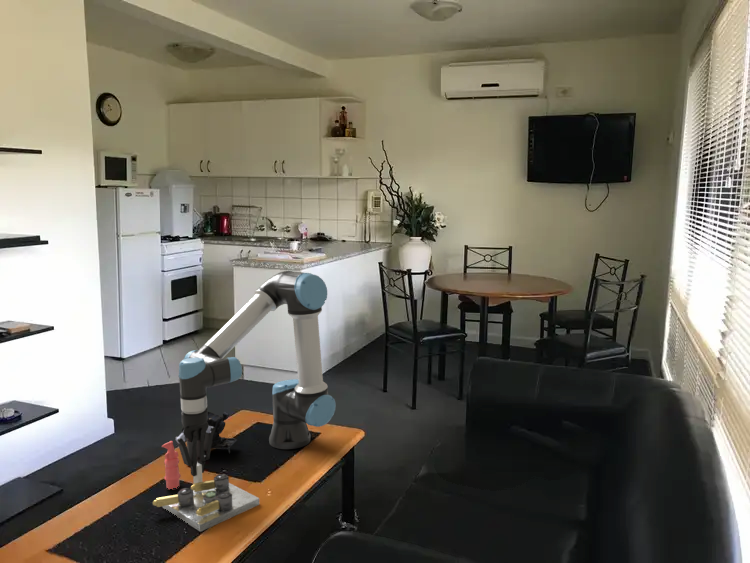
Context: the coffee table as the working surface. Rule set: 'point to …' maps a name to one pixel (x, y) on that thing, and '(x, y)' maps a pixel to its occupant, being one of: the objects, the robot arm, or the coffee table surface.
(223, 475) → the screw
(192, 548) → the coffee table surface
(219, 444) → the vintage camera
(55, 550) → the coffee table surface
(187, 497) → the screw
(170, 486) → the figurine
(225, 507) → the screw side
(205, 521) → the tribrach plate
